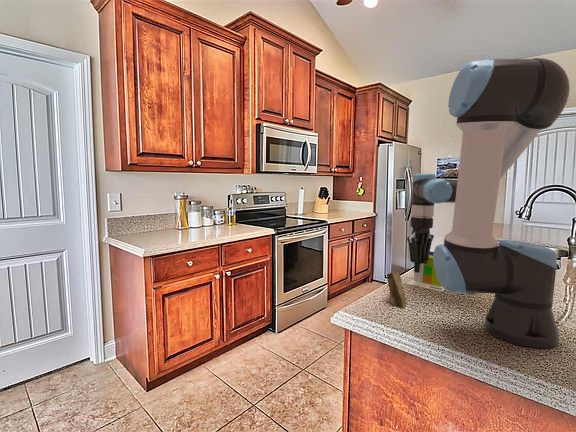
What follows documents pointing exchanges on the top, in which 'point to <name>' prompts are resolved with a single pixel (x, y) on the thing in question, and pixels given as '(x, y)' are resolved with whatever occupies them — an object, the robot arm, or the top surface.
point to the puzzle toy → (430, 272)
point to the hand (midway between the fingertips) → (418, 280)
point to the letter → (425, 285)
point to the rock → (396, 290)
